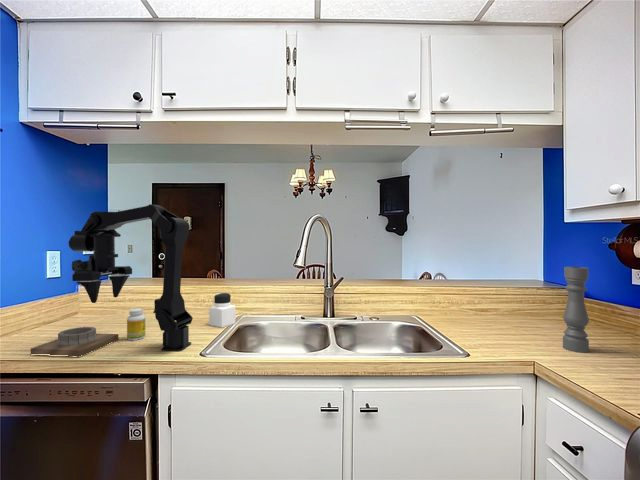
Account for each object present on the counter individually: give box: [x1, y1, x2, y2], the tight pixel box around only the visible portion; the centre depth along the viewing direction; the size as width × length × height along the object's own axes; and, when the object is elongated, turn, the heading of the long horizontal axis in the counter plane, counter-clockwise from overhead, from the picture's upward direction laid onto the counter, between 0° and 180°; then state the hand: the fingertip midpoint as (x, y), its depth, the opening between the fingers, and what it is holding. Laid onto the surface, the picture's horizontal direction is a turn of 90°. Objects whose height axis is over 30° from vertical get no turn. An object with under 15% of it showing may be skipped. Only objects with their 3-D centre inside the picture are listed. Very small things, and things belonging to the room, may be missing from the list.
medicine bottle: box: [208, 292, 236, 329], centre depth 122 cm, size 7×7×12 cm
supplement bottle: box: [126, 307, 147, 341], centre depth 105 cm, size 5×5×10 cm
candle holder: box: [562, 266, 590, 354], centre depth 96 cm, size 6×6×25 cm
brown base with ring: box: [30, 326, 119, 356], centre depth 96 cm, size 15×15×5 cm
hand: (105, 300), depth 101 cm, fingers open, 9 cm apart
